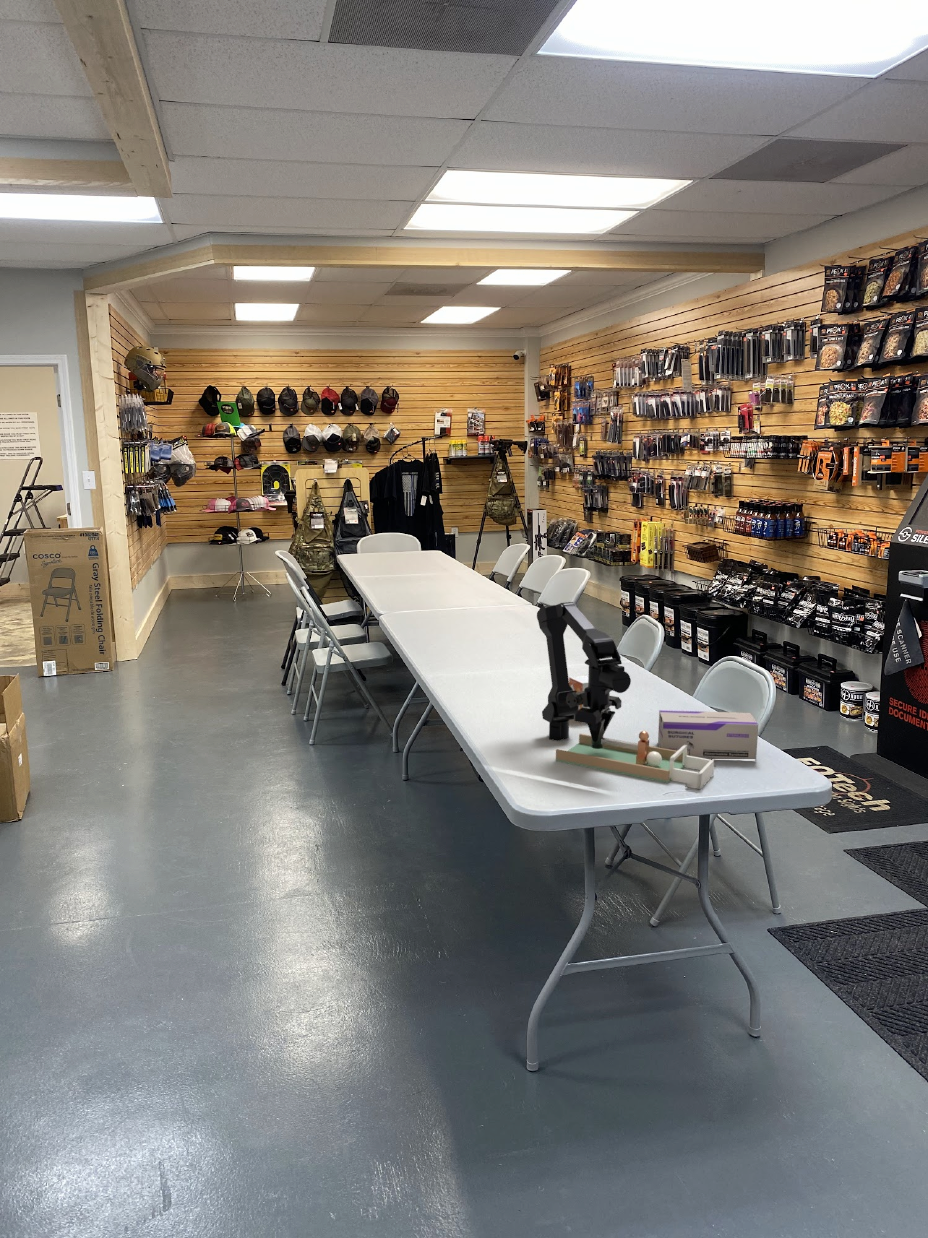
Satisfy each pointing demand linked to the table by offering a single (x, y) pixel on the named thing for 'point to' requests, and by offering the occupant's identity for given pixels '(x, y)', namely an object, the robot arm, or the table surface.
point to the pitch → (619, 760)
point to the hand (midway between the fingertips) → (597, 739)
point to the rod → (626, 745)
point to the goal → (695, 763)
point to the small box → (579, 685)
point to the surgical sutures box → (709, 733)
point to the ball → (654, 759)
